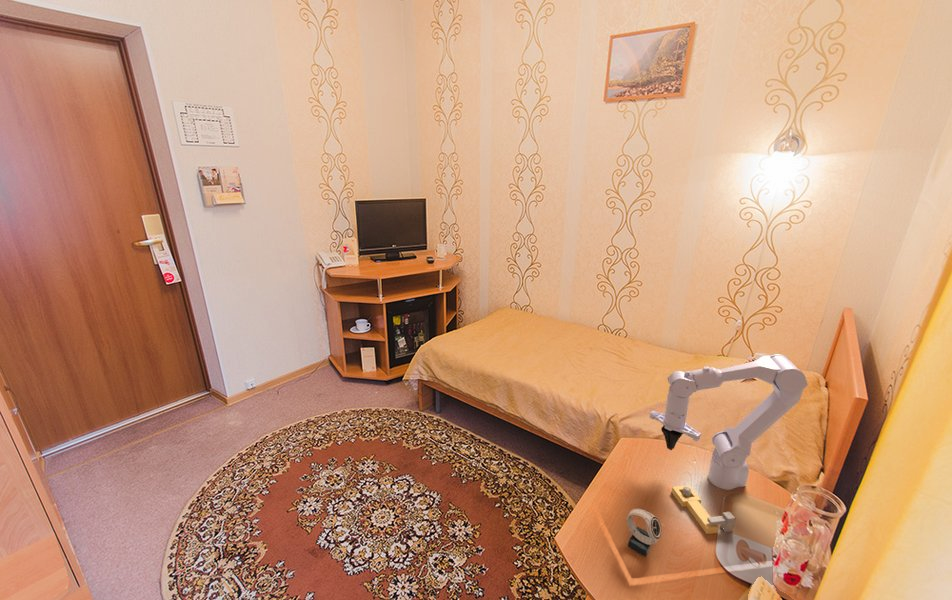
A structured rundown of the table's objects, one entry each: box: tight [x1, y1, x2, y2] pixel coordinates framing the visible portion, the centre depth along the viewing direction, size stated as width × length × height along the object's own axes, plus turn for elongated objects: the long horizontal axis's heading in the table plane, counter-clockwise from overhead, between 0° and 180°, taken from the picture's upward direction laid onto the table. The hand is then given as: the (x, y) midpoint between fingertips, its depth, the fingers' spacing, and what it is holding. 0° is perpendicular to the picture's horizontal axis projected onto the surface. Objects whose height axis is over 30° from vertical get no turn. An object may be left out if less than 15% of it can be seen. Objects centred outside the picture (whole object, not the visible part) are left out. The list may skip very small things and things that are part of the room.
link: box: [671, 485, 720, 535], centre depth 107 cm, size 14×5×2 cm, turn 5°
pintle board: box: [682, 487, 736, 533], centre depth 108 cm, size 20×17×6 cm
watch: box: [626, 507, 662, 557], centre depth 97 cm, size 6×8×11 cm
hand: (670, 447), depth 119 cm, fingers closed
